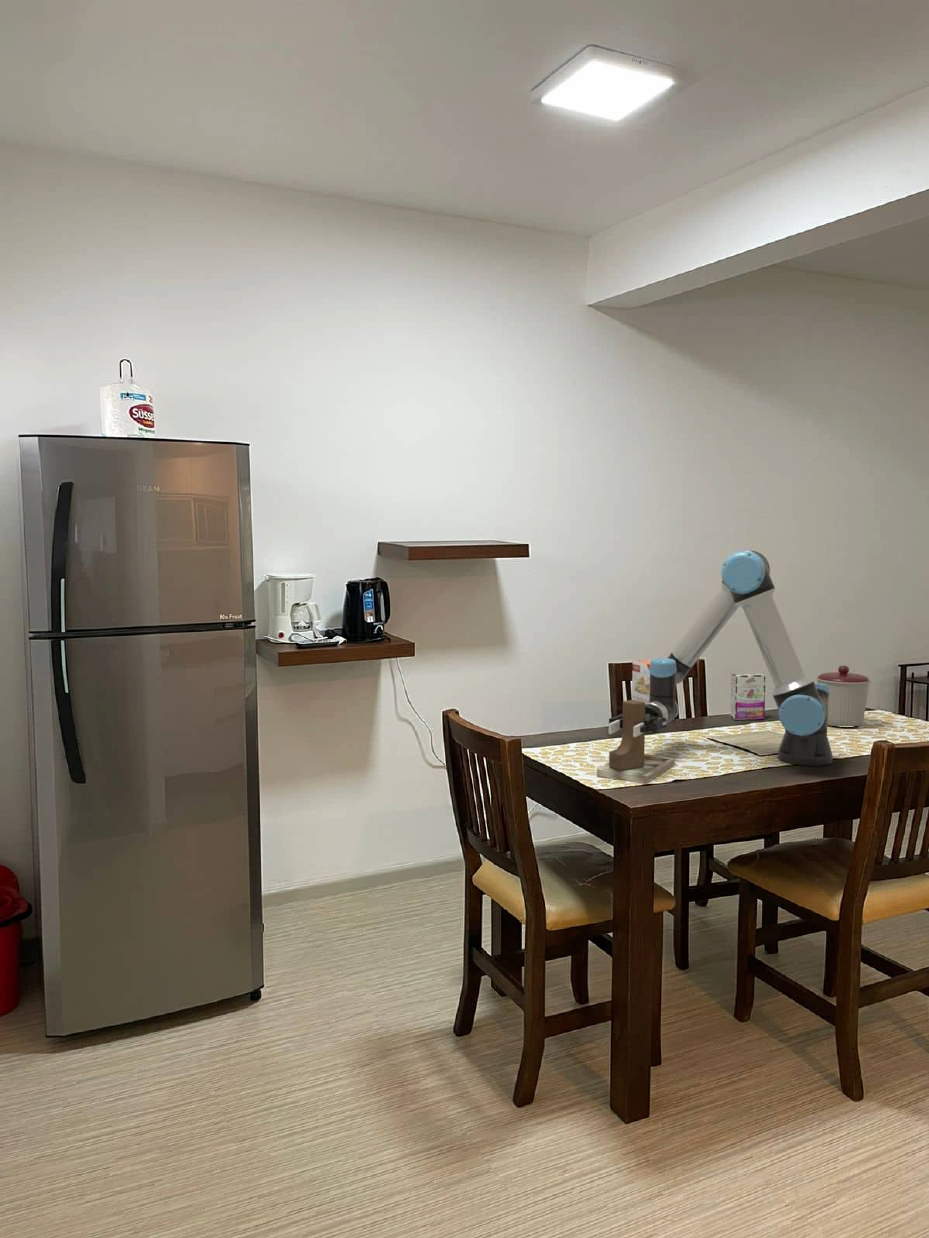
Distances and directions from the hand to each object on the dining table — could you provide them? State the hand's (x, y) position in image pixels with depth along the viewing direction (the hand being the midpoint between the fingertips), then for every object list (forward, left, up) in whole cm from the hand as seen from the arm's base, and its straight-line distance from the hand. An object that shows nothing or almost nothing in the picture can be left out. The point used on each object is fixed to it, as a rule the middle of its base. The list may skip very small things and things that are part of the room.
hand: (622, 730), depth 252 cm
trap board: (0, -12, -14) cm, 18 cm away
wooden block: (0, -5, -11) cm, 12 cm away
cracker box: (+22, -85, -14) cm, 89 cm away
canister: (-39, -111, -14) cm, 119 cm away
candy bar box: (-8, -105, -14) cm, 106 cm away
